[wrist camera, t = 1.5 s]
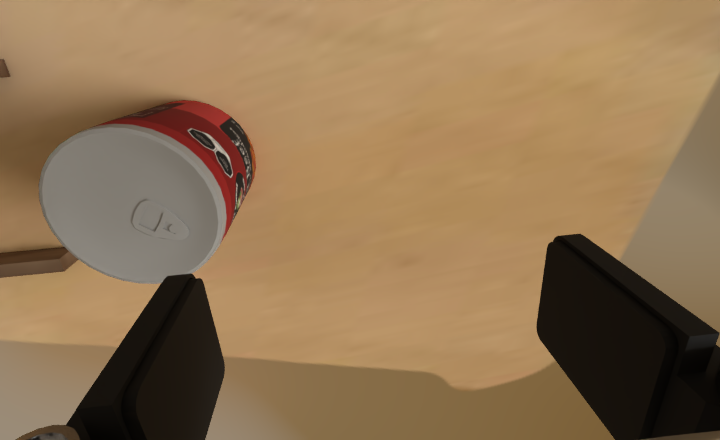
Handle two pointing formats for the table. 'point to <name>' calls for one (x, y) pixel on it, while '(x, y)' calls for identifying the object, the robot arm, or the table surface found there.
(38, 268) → the walnut frame
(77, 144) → the canned food
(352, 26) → the table surface
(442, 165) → the table surface
